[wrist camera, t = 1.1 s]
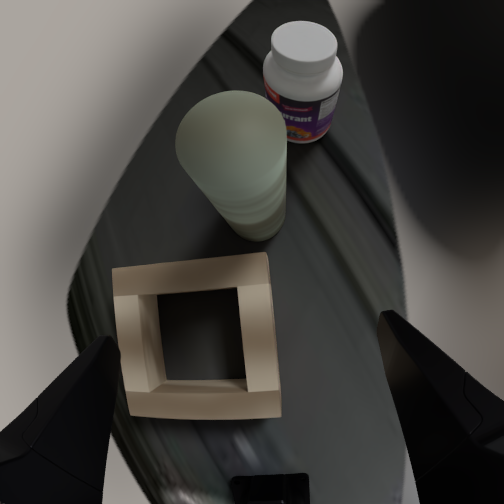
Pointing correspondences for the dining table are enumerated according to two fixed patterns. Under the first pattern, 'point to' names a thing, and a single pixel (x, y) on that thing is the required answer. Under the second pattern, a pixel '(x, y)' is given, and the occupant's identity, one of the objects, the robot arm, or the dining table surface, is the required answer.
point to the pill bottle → (303, 78)
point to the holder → (150, 345)
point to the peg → (238, 160)
